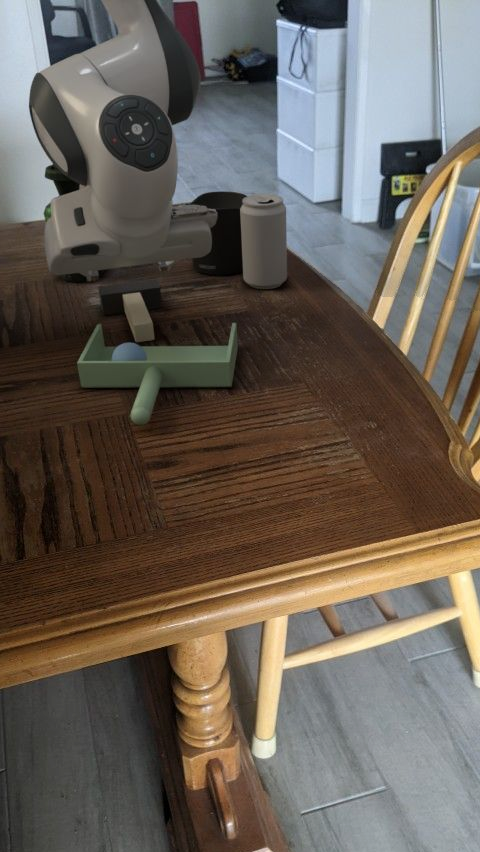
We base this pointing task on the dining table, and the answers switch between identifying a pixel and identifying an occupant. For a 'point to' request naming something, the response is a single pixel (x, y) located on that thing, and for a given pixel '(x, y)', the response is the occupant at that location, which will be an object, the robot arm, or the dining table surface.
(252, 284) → the beverage can
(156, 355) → the dustpan
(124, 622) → the dining table surface
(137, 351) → the foam ball
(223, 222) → the pen holder
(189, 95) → the robot arm
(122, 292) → the brush
